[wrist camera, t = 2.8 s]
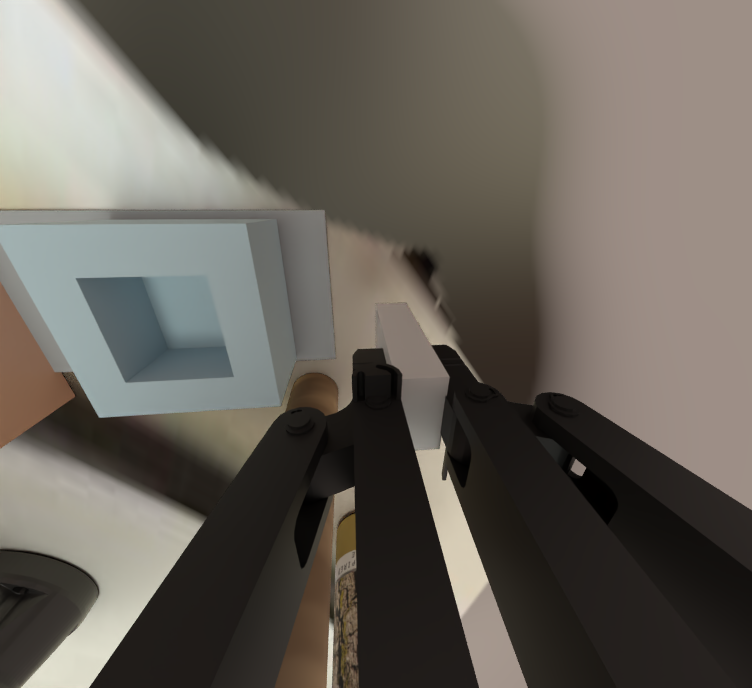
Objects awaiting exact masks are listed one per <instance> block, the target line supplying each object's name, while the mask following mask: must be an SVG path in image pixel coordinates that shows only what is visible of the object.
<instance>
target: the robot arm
mask: <svg viewBox="0 0 752 688" xmlns="http://www.w3.org/2000/svg"><path fill="white" fill-rule="evenodd" d="M352 393H353V399H352V401H351V403H350V404H349V405H348V406H347V407H346V408H344V409H343V410H341V411H339V412H336V413H334V414H330V415H327V416H325V415H324V413H323V412H321V411H320V410H318V409H316V408H312V407H298V408H295V409H291V410H288V411H287V412H285V413H283V414H281V415H280V416H279V417H278V418H277V419H276V420H275V421H274V422H273V424H272V425H271V427H270V428H269V429H268V431H267V432H266V434H265V435H264V437H263V438H262V440H261V441H260V442H259V444H258V445H257V447H256V448H255V450H254V451H253V453H252V454H251V455H250V457H249V458H248V460H247V461H246V463H245V464H244V466H243V467H242V468H241V470H240V471H239V473H238V474H237V476H236V477H235V478H234V480H233V481H232V483H231V484H230V486H229V487H228V489H227V490H226V491H225V493H224V494H223V496H222V497H221V499H220V500H219V502H218V503H217V504H216V506H215V507H214V509H213V510H212V512H211V513H210V514H209V516H208V517H207V519H206V520H205V522H204V523H203V525H202V526H201V527H200V529H199V530H198V532H197V533H196V535H195V536H194V538H193V539H192V540H191V542H190V543H189V545H188V546H187V548H186V549H185V550H184V552H183V553H182V555H181V556H180V558H179V559H178V561H177V562H176V563H175V565H174V566H173V568H172V569H171V571H170V572H169V574H168V575H167V576H166V578H165V579H164V581H163V582H162V584H161V585H160V587H159V588H158V589H157V591H156V592H155V594H154V595H153V597H152V598H151V599H150V601H149V602H148V604H147V605H146V607H145V608H144V610H143V611H142V612H141V614H140V615H139V617H138V618H137V620H136V621H135V623H134V624H133V625H132V627H131V628H130V630H129V631H128V633H127V634H126V635H125V637H124V638H123V640H122V641H121V643H120V644H119V646H118V647H117V648H116V650H115V651H114V653H113V654H112V656H111V657H110V659H109V660H108V661H107V663H106V664H105V666H104V667H103V669H102V670H101V672H100V673H99V674H98V676H97V677H96V679H95V680H94V682H93V683H92V684H91V686H90V687H89V688H274V687H275V684H276V681H277V678H278V675H279V671H280V668H281V665H282V662H283V658H284V655H285V652H286V649H287V645H288V642H289V639H290V636H291V633H292V629H293V626H294V623H295V620H296V616H297V613H298V610H299V607H300V603H301V600H302V597H303V594H304V591H305V587H306V584H307V581H308V578H309V574H310V571H311V568H312V565H313V561H314V558H315V555H316V552H317V549H318V545H319V542H320V539H321V536H322V532H323V529H324V526H325V523H326V519H327V516H328V513H329V510H330V507H331V503H332V500H333V495H334V494H337V493H339V492H341V491H344V490H346V489H349V488H351V487H354V486H355V530H356V579H357V629H358V678H359V688H479V686H478V683H477V679H476V675H475V671H474V667H473V664H472V660H471V656H470V653H469V649H468V646H467V642H466V638H465V634H464V630H463V627H462V623H461V619H460V616H459V612H458V608H457V604H456V601H455V597H454V593H453V590H452V586H451V582H450V579H449V575H448V571H447V567H446V564H445V560H444V556H443V553H442V549H441V545H440V541H439V538H438V534H437V530H436V527H435V523H434V519H433V516H432V512H431V508H430V504H429V501H428V497H427V493H426V490H425V486H424V482H423V479H422V475H421V471H420V467H419V464H418V460H417V456H416V453H415V450H428V449H440V442H441V436H442V438H443V441H444V443H445V446H446V449H445V456H444V462H443V469H442V480H446V477H447V471H448V472H449V475H450V477H451V480H452V483H453V485H454V488H455V491H456V494H457V496H458V499H459V502H460V504H461V507H462V510H463V513H464V515H465V518H466V521H467V523H468V526H469V529H470V532H471V534H472V537H473V540H474V542H475V545H476V548H477V551H478V553H479V556H480V559H481V561H482V564H483V567H484V570H485V572H486V575H487V578H488V580H489V583H490V586H491V589H492V591H493V594H494V597H495V599H496V602H497V605H498V607H499V610H500V613H501V616H502V618H503V621H504V624H505V626H506V629H507V632H508V635H509V637H510V640H511V643H512V645H513V648H514V651H515V654H516V656H517V659H518V662H519V665H520V667H521V670H522V673H523V675H524V678H525V681H526V683H527V686H528V688H752V510H750V509H749V508H747V507H745V506H744V505H742V504H741V503H739V502H738V501H736V500H735V499H733V498H731V497H730V496H728V495H727V494H725V493H724V492H722V491H720V490H719V489H717V488H715V487H714V486H713V485H711V484H709V483H708V482H706V481H705V480H703V479H702V478H700V477H698V476H697V475H695V474H694V473H692V472H691V471H689V470H687V469H686V468H684V467H683V466H681V465H679V464H678V463H676V462H675V461H673V460H672V459H670V458H668V457H667V456H665V455H664V454H662V453H661V452H659V451H657V450H656V449H654V448H653V447H651V446H649V445H648V444H646V443H645V442H643V441H642V440H640V439H639V438H637V437H635V436H634V435H632V434H631V433H629V432H628V431H626V430H624V429H623V428H621V427H620V426H618V425H617V424H615V423H613V422H612V421H610V420H609V419H607V418H606V417H604V416H602V415H601V414H599V413H598V412H596V411H595V410H593V409H591V408H590V407H588V406H587V405H585V404H584V403H582V402H580V401H578V400H576V399H574V398H572V397H570V396H566V395H564V394H560V393H552V392H548V393H541V394H539V395H537V396H536V399H535V401H534V404H533V406H532V405H527V404H520V403H513V402H509V401H507V400H506V399H505V398H504V396H503V395H502V394H501V393H499V391H498V390H496V389H495V388H493V387H491V386H489V385H487V384H483V383H479V382H478V381H477V380H476V378H475V377H474V376H473V374H472V373H471V372H470V370H469V369H468V367H467V366H466V365H465V363H464V362H463V361H462V359H460V356H459V355H458V354H457V352H456V351H455V350H453V349H452V348H450V347H449V346H447V345H431V344H430V342H429V341H428V339H427V337H426V336H425V334H424V332H423V330H422V329H421V327H420V325H419V324H418V322H417V320H416V318H415V317H414V315H413V313H412V312H411V310H410V308H409V307H408V305H407V303H376V348H375V349H358V350H357V351H356V352H355V353H354V355H353V374H352ZM575 459H577V460H578V461H579V462H581V463H582V464H583V465H584V466H585V467H586V470H585V472H584V474H583V476H579V475H577V474H575V473H574V472H572V471H571V468H572V465H573V463H574V461H575ZM97 597H98V590H97V587H96V585H95V583H94V582H93V581H92V580H91V579H90V578H89V577H88V576H87V575H85V574H84V573H83V572H81V571H80V570H78V569H76V568H74V567H72V566H70V565H68V564H65V563H63V562H60V561H57V560H54V559H51V558H47V557H43V556H39V555H34V554H28V553H21V552H12V551H0V688H21V687H22V686H23V685H24V684H25V682H26V681H27V680H28V679H29V678H30V677H31V676H32V675H33V674H34V673H35V672H36V671H37V669H38V668H39V667H40V666H41V665H42V664H43V663H44V662H45V661H46V660H47V659H48V658H49V656H50V655H51V654H52V653H53V652H54V651H55V650H56V649H57V648H58V646H59V645H60V644H61V643H62V642H63V641H64V640H65V638H66V637H67V636H69V635H70V634H71V633H72V632H73V631H74V630H75V629H77V628H78V627H79V625H80V624H81V623H82V622H83V620H84V619H85V617H86V615H87V614H88V612H89V611H90V609H91V608H92V606H93V604H94V603H95V601H96V600H97Z"/></svg>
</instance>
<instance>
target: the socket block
mask: <svg viewBox="0 0 752 688" xmlns="http://www.w3.org/2000/svg"><path fill="white" fill-rule="evenodd" d="M0 243H1V245H2V247H3V249H4V251H5V252H6V254H7V256H8V258H9V259H10V261H11V263H12V265H13V266H14V268H15V270H16V272H17V273H18V275H19V277H20V279H21V281H22V282H23V284H24V286H25V288H26V289H27V291H28V293H29V295H30V296H31V298H32V300H33V302H34V303H35V305H36V307H37V309H38V311H39V312H40V314H41V316H42V318H43V319H44V321H45V323H46V325H47V326H48V328H49V330H50V332H51V333H52V335H53V337H54V339H55V340H56V342H57V344H58V346H59V348H60V349H61V351H62V353H63V355H64V356H65V358H66V360H67V362H68V363H69V365H70V367H71V369H72V370H73V372H74V374H75V376H76V378H77V379H78V381H79V383H80V385H81V386H82V388H83V390H84V392H85V393H86V395H87V397H88V399H89V400H90V402H91V404H92V406H93V408H94V409H95V411H96V413H97V415H98V416H99V418H101V417H117V416H133V415H149V414H165V413H181V412H197V411H213V410H229V409H245V408H262V407H278V406H281V404H282V401H283V398H284V395H285V392H286V389H287V386H288V383H289V380H290V377H291V374H292V371H293V368H294V365H295V361H296V358H297V356H296V349H295V342H294V335H293V329H292V322H291V315H290V308H289V301H288V294H287V287H286V281H285V274H284V267H283V260H282V253H281V246H280V239H279V232H278V226H277V219H138V220H87V221H65V222H44V223H22V224H1V225H0Z"/></svg>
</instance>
